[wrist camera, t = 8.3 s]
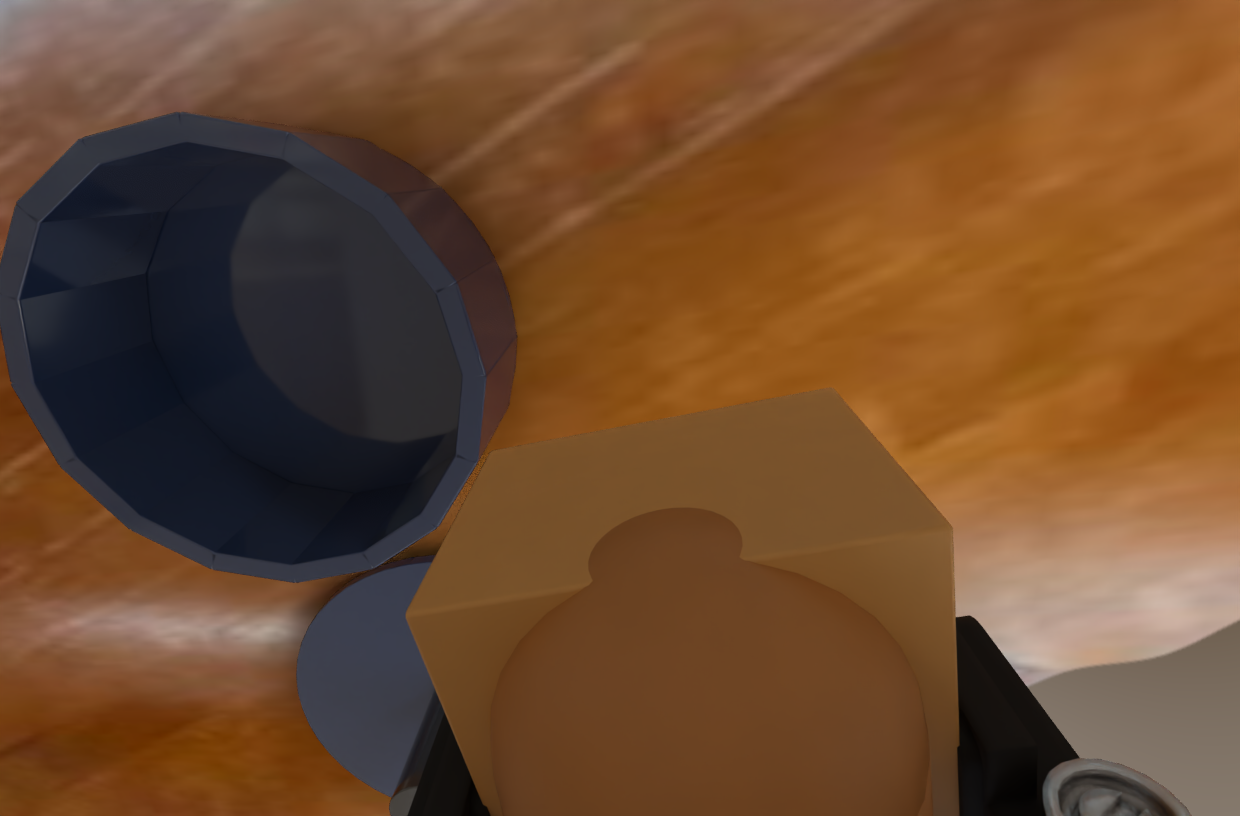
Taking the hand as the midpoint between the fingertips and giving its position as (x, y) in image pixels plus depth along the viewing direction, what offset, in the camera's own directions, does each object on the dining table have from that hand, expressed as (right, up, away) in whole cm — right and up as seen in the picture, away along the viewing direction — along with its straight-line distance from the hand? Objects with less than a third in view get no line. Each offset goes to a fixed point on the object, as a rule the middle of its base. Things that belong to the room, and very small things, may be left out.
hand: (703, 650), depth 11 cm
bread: (0, 0, 0) cm, 0 cm away
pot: (-13, +7, +15) cm, 22 cm away
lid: (-9, -10, +21) cm, 25 cm away
